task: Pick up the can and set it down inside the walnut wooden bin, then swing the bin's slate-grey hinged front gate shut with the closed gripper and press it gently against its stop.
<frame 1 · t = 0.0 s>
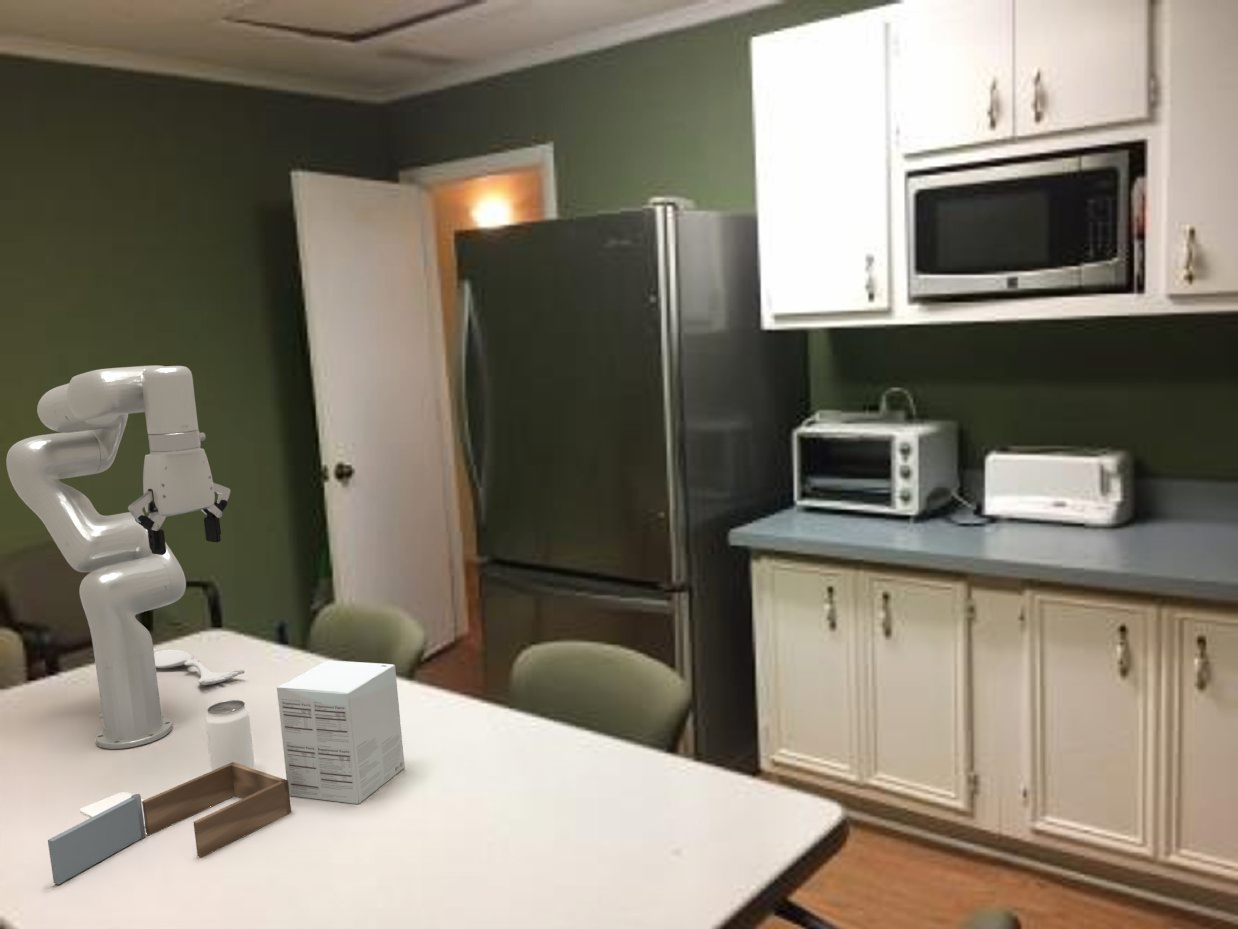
hand: (186, 547, 167), 37 cm above the table, tool pointing down, fingers open, 9 cm apart
bin: (217, 824, 149), on the table
can: (234, 779, 165), on the table
spoon: (192, 675, 220), on the table
bin gate: (99, 837, 140), point 3 cm above the table, hinge at -80.0°
supplement box: (347, 783, 161), on the table
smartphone: (126, 816, 155), on the table
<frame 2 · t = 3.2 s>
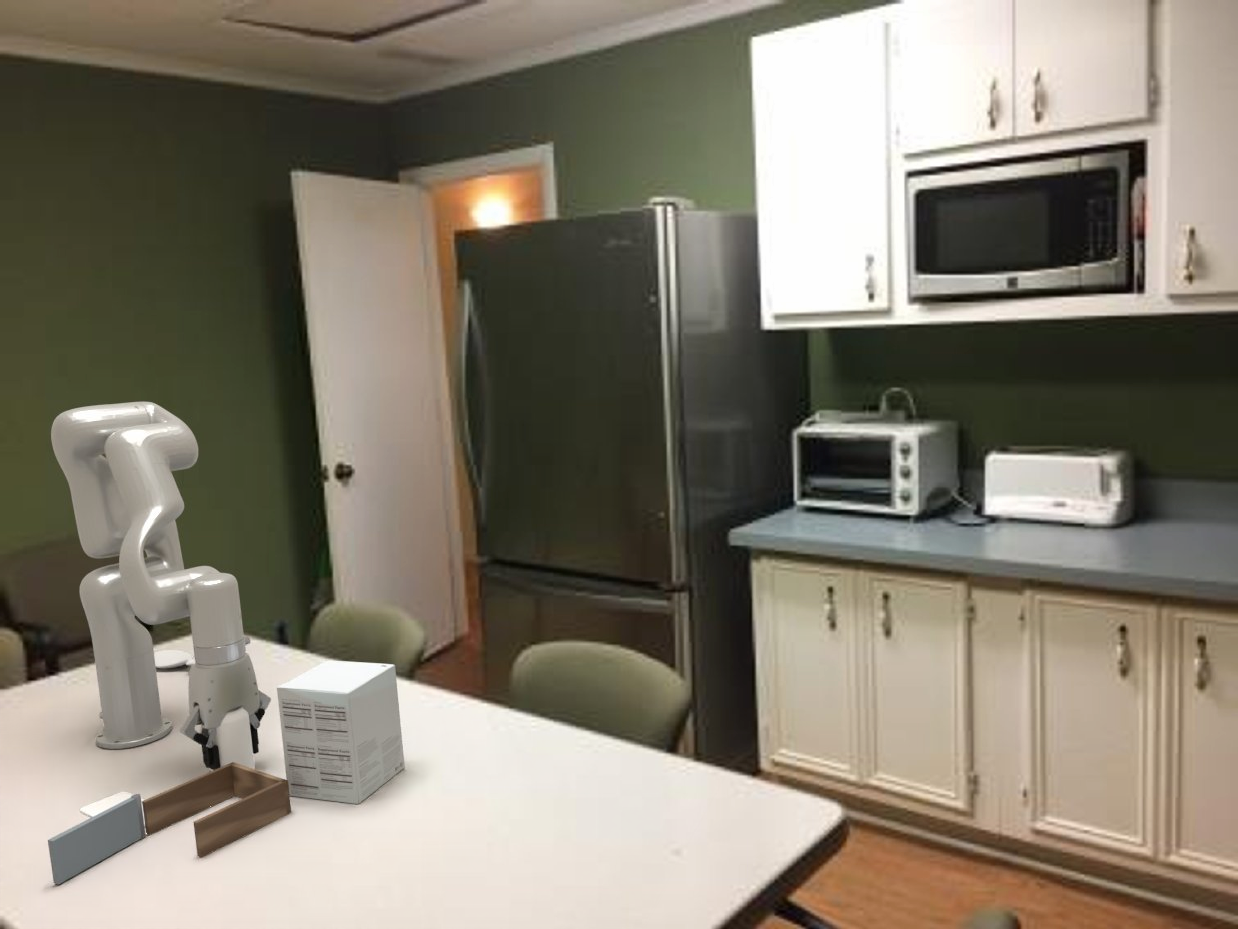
hand: (232, 759, 164), 3 cm above the table, tool pointing down, fingers closed on can, 6 cm apart
can: (234, 779, 165), on the table, touching gripper
everything else where it was.
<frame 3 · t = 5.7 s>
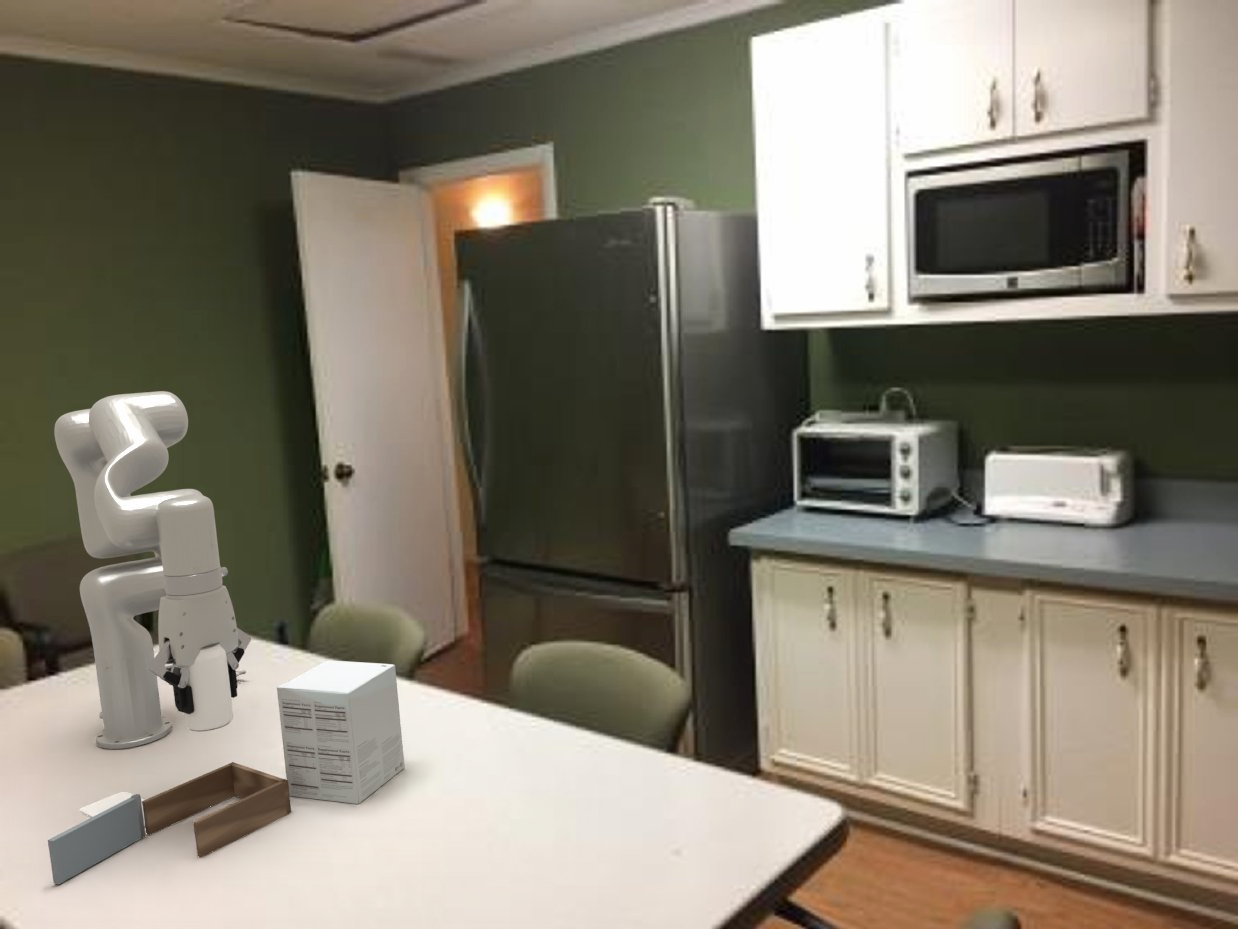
hand: (207, 702, 148), 18 cm above the table, tool pointing down, fingers closed on can, 6 cm apart
can: (210, 725, 148), point 15 cm above the table, touching gripper
everything else where it was.
when the fingers open (5 cm above the table, at t = 8.7 s): can drops 2 cm, resting in bin.
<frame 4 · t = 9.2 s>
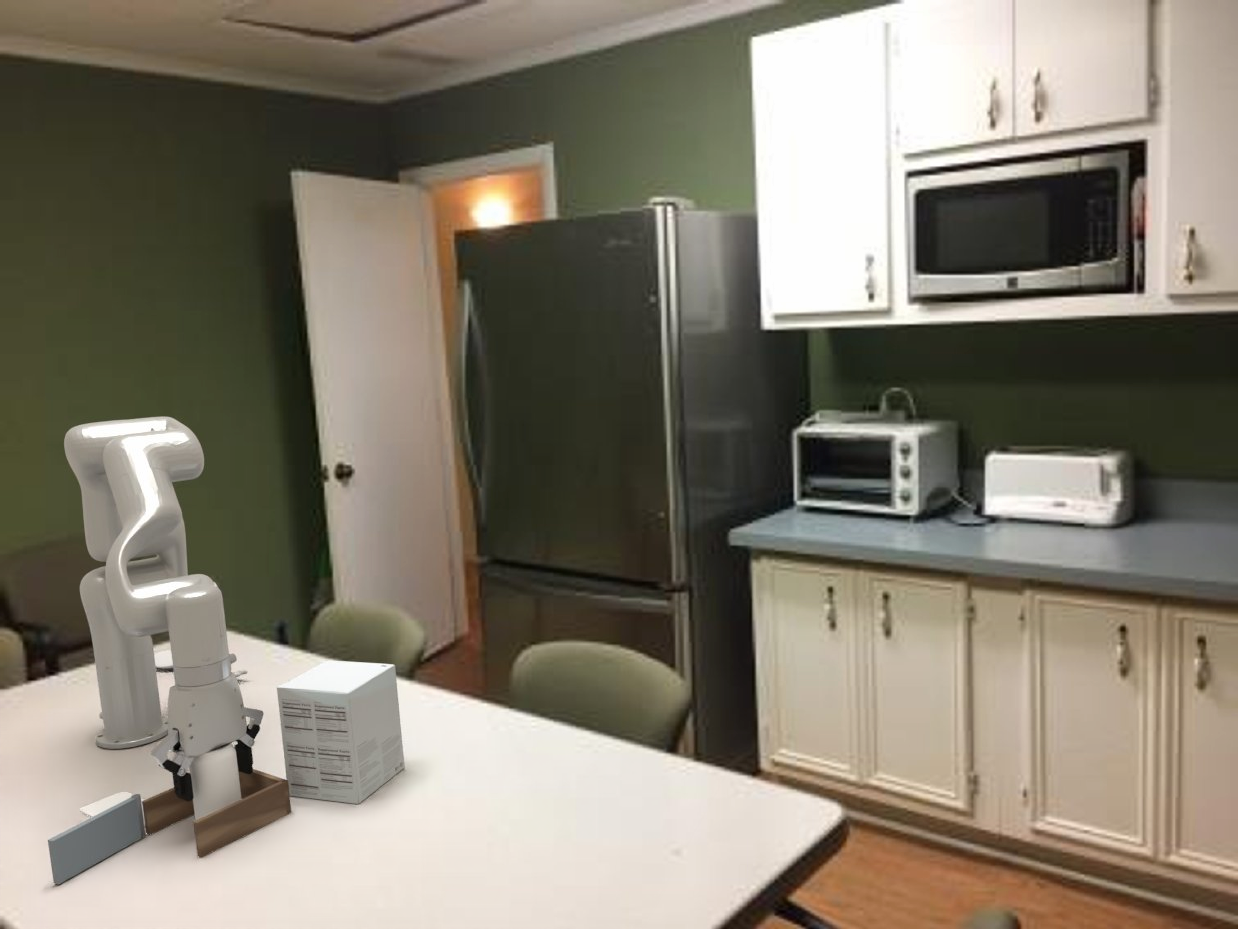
hand: (215, 785, 149), 6 cm above the table, tool pointing down, fingers open, 9 cm apart
can: (220, 823, 150), resting in bin
everything else where it was.
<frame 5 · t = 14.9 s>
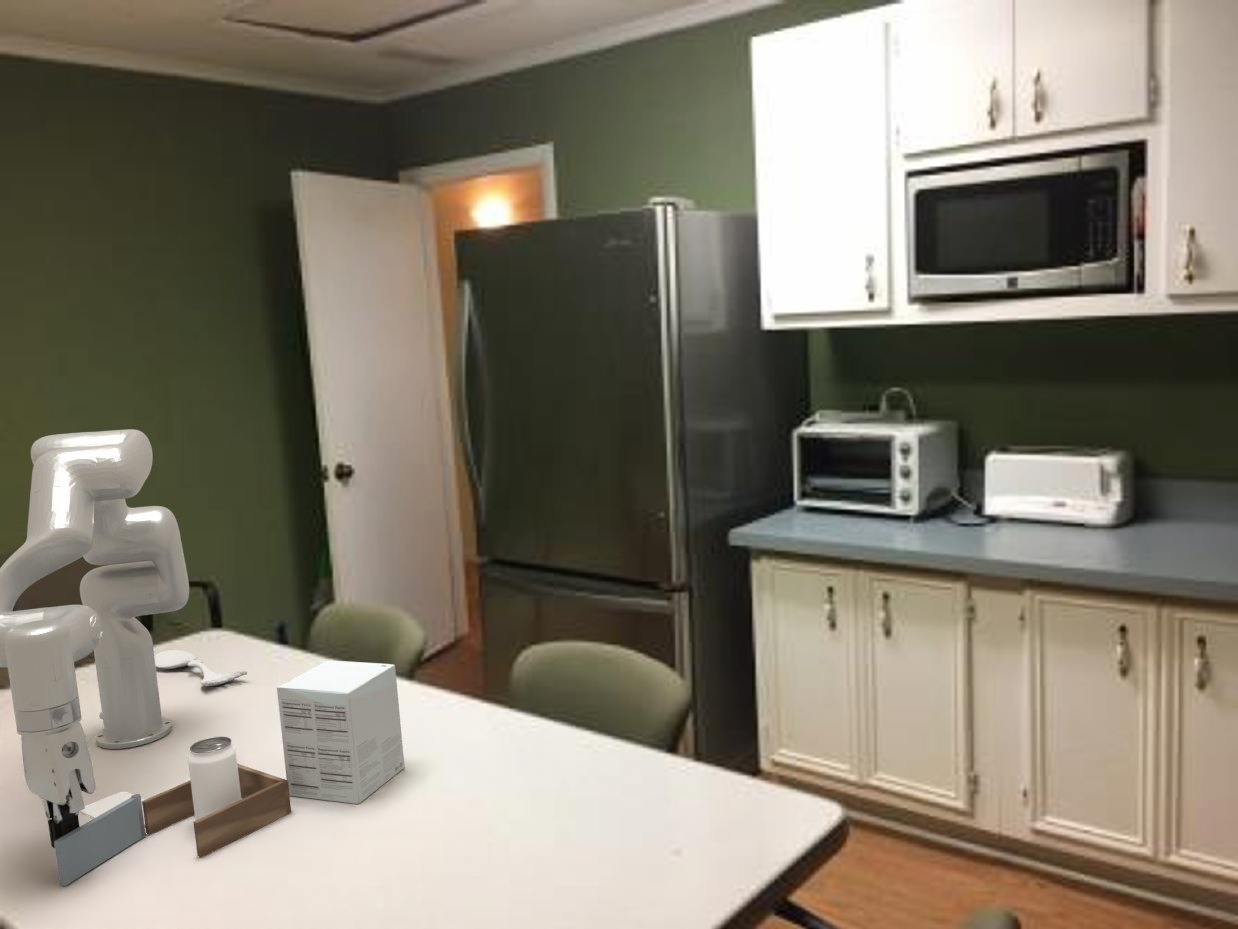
hand: (66, 844, 138), 4 cm above the table, tool pointing down, fingers closed
bin gate: (102, 838, 140), point 3 cm above the table, hinge at -74.7°, touching gripper
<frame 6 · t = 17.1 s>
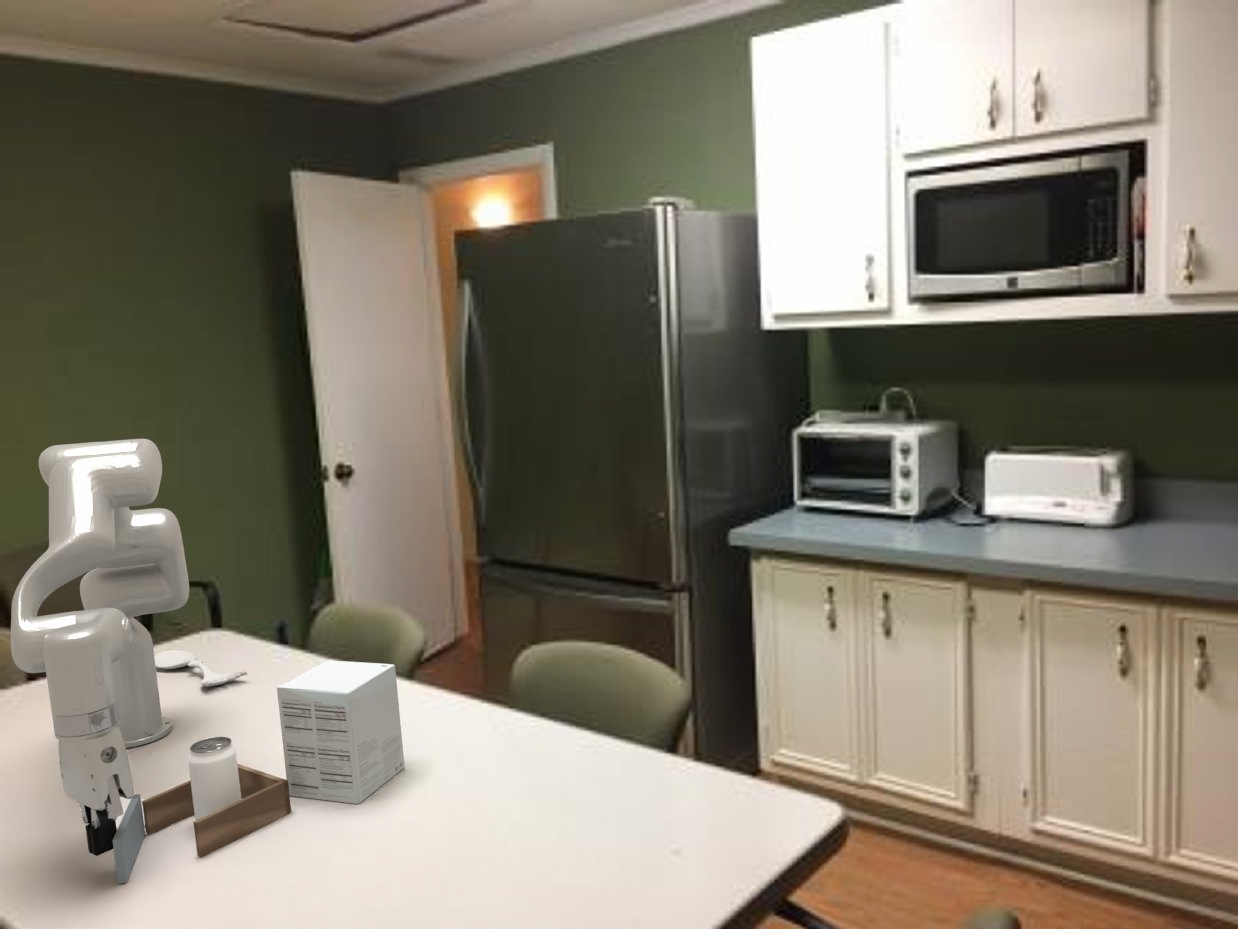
hand: (104, 849, 136), 3 cm above the table, tool pointing down, fingers closed
bin gate: (129, 837, 140), point 3 cm above the table, hinge at -39.4°, touching gripper
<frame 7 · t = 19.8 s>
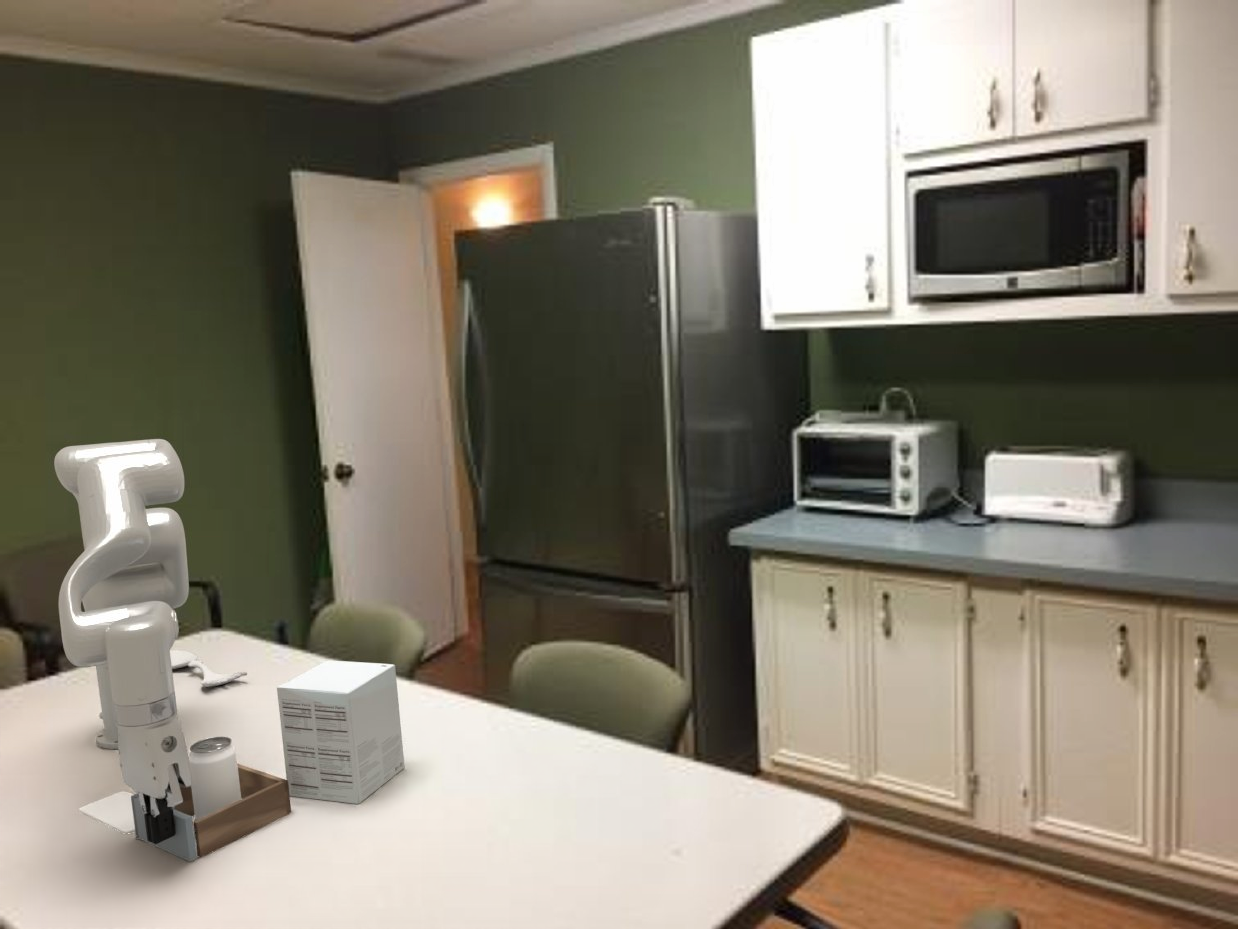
hand: (161, 838, 139), 3 cm above the table, tool pointing down, fingers closed
bin gate: (162, 827, 142), point 3 cm above the table, hinge at -0.4°, touching gripper
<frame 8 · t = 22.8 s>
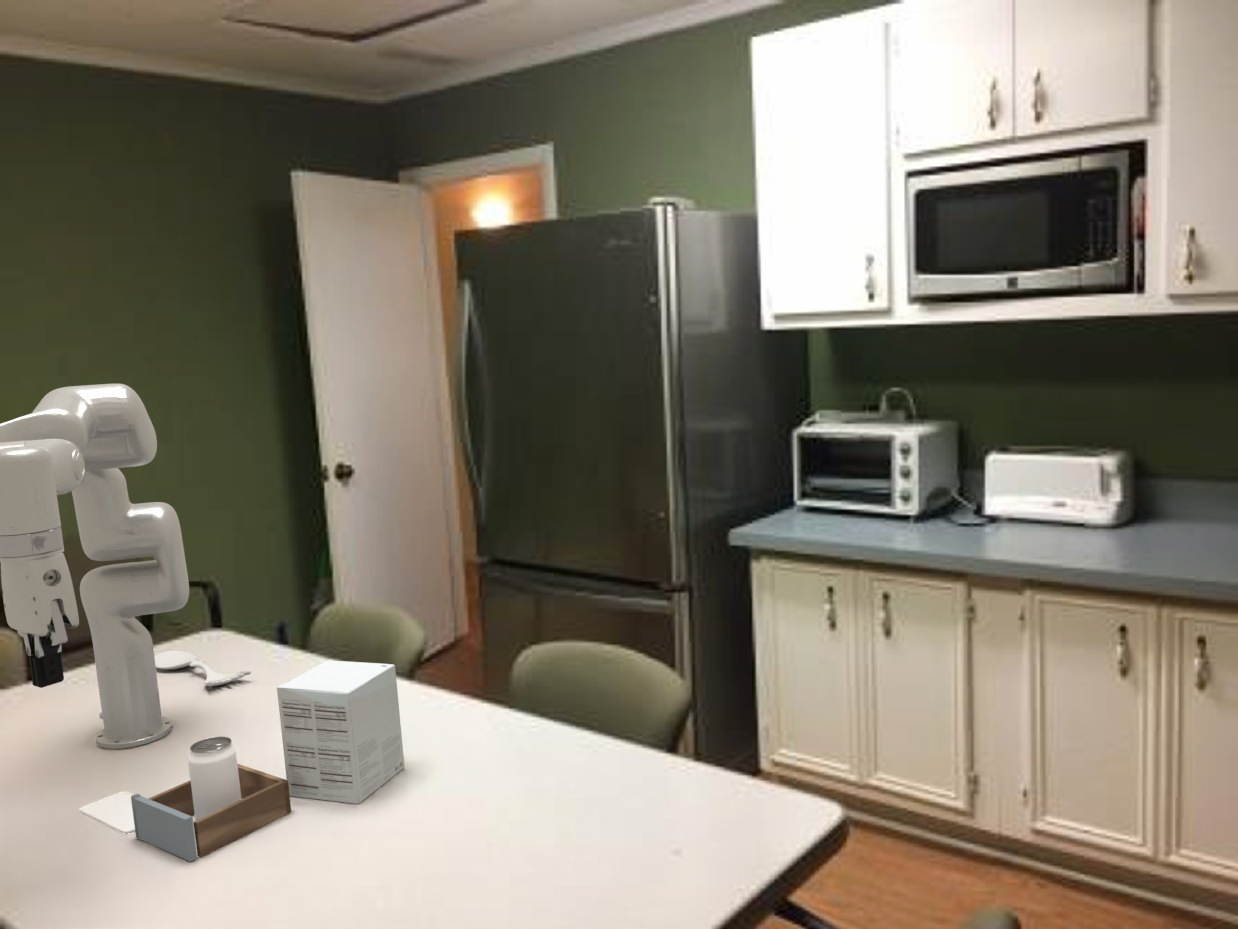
hand: (48, 683, 132), 27 cm above the table, tool pointing down, fingers closed
bin gate: (162, 827, 142), point 3 cm above the table, hinge at -0.2°
at the end: bin gate at +0° (first picture: -80°); can inside the target area (0.2 cm from its centre), resting in bin; can tilted 0° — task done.
